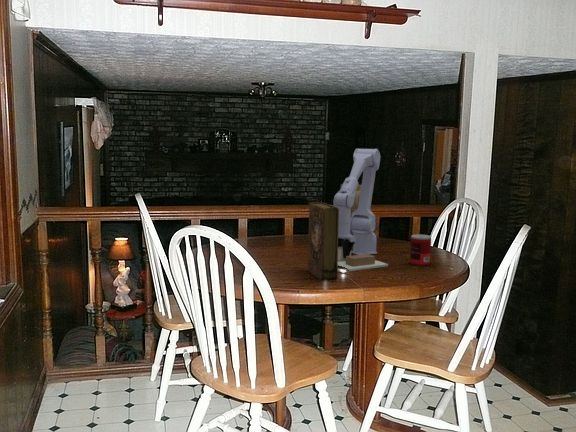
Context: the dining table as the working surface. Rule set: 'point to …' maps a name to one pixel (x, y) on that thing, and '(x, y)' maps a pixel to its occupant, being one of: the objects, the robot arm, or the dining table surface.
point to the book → (323, 240)
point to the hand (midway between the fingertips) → (342, 256)
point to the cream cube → (341, 254)
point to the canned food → (420, 250)
